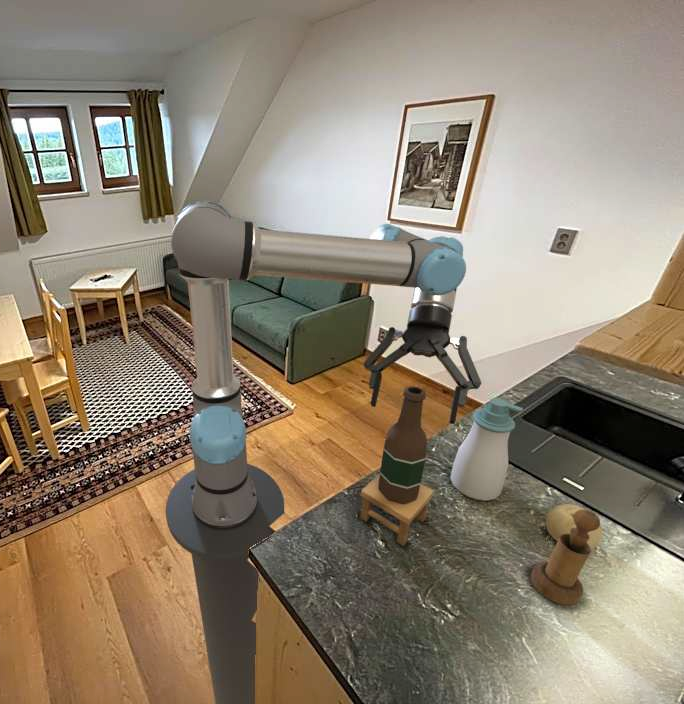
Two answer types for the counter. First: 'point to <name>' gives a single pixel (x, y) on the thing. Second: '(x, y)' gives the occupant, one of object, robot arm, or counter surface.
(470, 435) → the soap bottle
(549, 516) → the onion
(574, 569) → the mortar and pestle
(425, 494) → the stool
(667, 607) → the counter surface
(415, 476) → the beer bottle
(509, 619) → the counter surface
